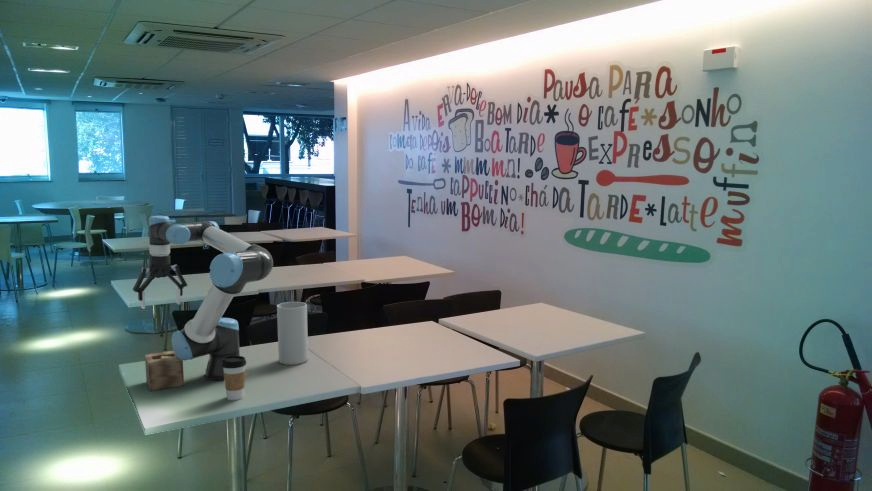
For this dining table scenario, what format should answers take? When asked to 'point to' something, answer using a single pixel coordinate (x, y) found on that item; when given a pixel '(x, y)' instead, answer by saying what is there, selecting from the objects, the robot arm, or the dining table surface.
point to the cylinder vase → (292, 333)
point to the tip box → (164, 371)
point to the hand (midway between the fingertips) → (161, 306)
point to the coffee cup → (234, 376)
